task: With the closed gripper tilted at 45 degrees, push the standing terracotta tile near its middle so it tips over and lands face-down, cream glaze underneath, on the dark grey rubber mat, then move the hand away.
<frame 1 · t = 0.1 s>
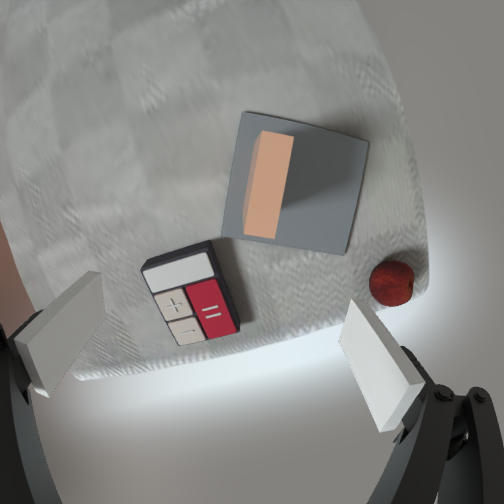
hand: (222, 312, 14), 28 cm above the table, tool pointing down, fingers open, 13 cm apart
mat: (296, 185, 39), on the table
apple: (380, 274, 44), on the table
tile: (259, 178, 38), point 1 cm above the table, touching mat
calculator: (194, 291, 44), on the table
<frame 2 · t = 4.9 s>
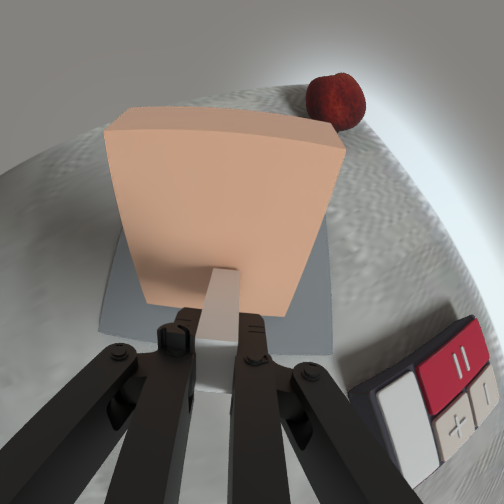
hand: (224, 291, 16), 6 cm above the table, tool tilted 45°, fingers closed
mat: (223, 237, 24), on the table
apple: (328, 127, 33), on the table
tile: (216, 294, 20), point 1 cm above the table, tilted 17°, touching mat
calculator: (426, 401, 19), on the table
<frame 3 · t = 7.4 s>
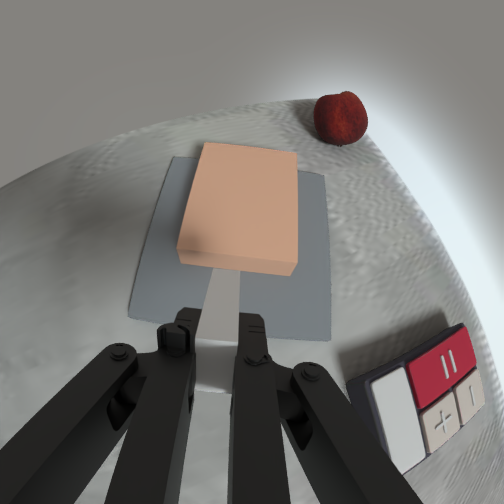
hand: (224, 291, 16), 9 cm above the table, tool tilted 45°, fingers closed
mat: (239, 237, 28), on the table
apple: (333, 140, 37), on the table
tile: (235, 263, 24), point 2 cm above the table, tilted 90°, touching mat
calculator: (416, 399, 22), on the table
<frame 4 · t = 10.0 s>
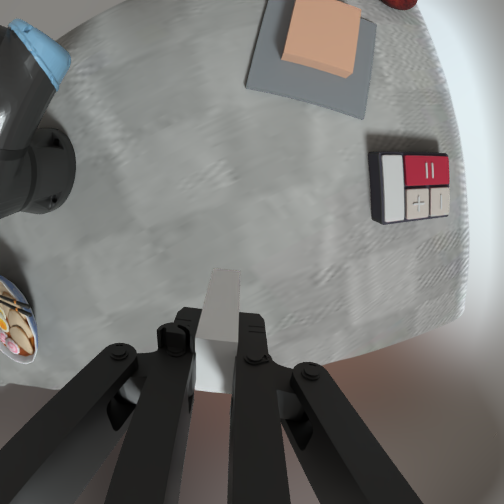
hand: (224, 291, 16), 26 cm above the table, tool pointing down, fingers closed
mat: (316, 49, 33), on the table
apple: (388, 1, 29), on the table
ramen bowl: (18, 305, 46), on the table
tile: (316, 65, 32), point 2 cm above the table, tilted 90°, touching mat
calculator: (407, 184, 40), on the table
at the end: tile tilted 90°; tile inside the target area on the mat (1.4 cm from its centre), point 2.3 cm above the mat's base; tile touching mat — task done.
